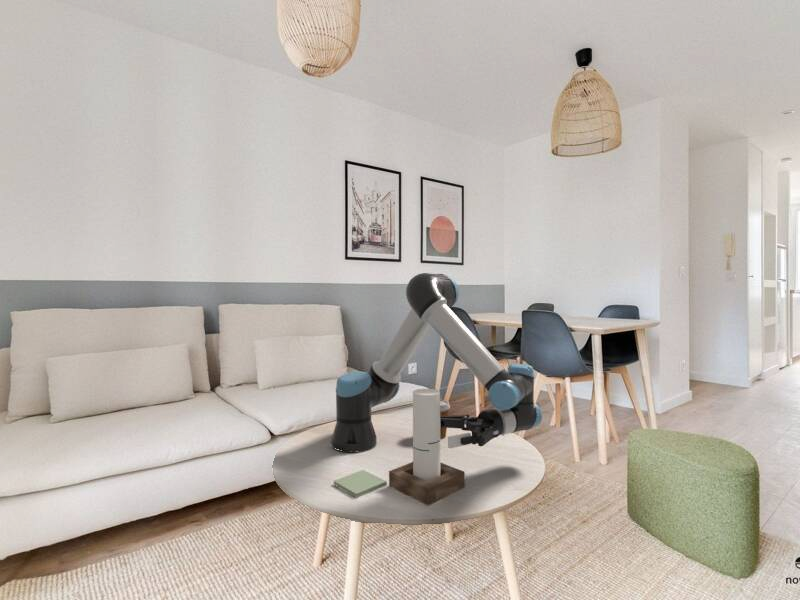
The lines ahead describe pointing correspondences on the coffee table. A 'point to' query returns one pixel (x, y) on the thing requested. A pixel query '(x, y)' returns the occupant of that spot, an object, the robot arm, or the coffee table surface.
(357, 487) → the green mat
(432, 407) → the cylindrical container
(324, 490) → the coffee table surface
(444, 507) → the coffee table surface
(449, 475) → the frame
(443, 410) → the disposable coffee cup
